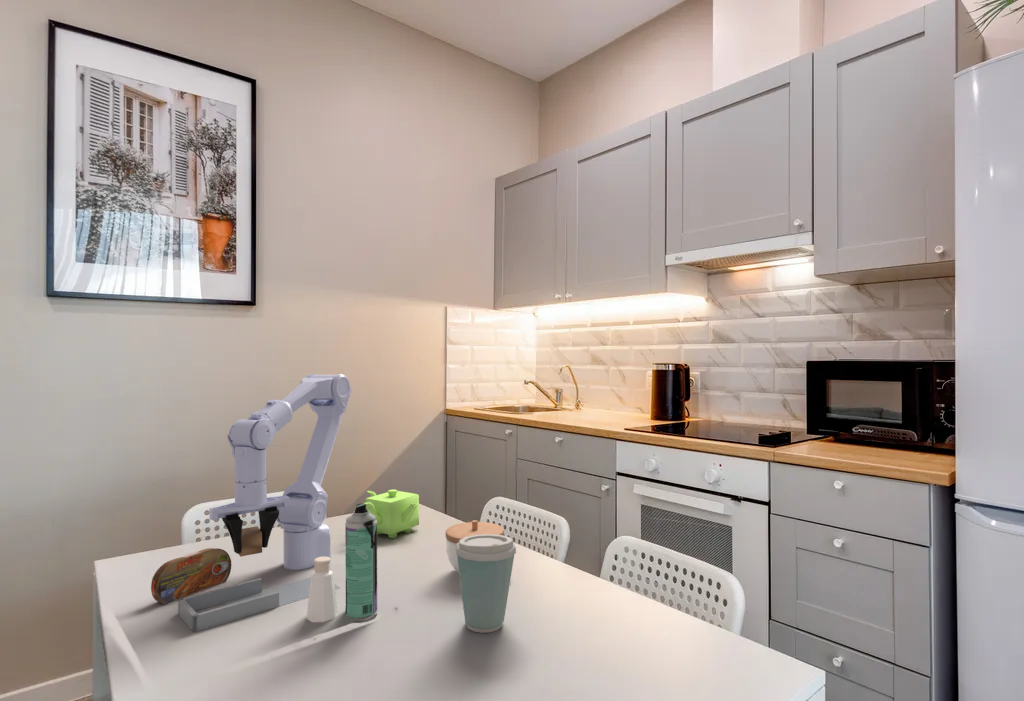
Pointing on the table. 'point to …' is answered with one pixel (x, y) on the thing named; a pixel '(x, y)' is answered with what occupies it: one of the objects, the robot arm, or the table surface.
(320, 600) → the salt shaker
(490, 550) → the disposable coffee cup
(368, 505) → the kettle
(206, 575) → the tin
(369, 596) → the spray can
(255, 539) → the walnut block
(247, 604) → the trap channel
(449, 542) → the lidded bowl
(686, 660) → the table surface
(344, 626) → the table surface
